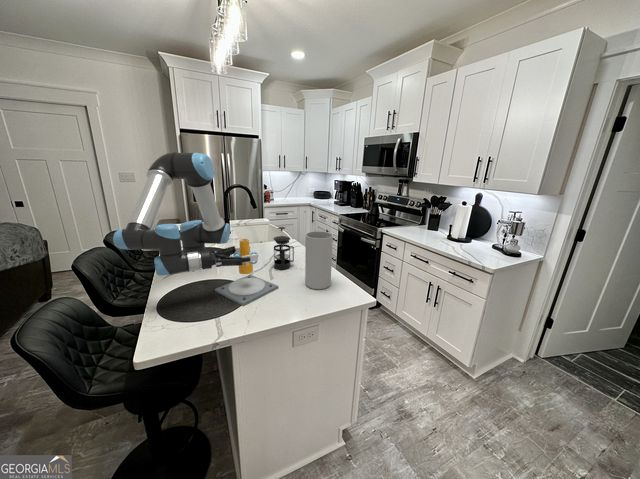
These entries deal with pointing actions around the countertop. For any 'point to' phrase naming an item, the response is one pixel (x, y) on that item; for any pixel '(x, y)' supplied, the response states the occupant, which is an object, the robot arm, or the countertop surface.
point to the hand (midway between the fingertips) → (253, 252)
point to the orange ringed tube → (245, 251)
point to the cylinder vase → (318, 259)
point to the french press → (282, 252)
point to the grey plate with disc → (246, 289)
